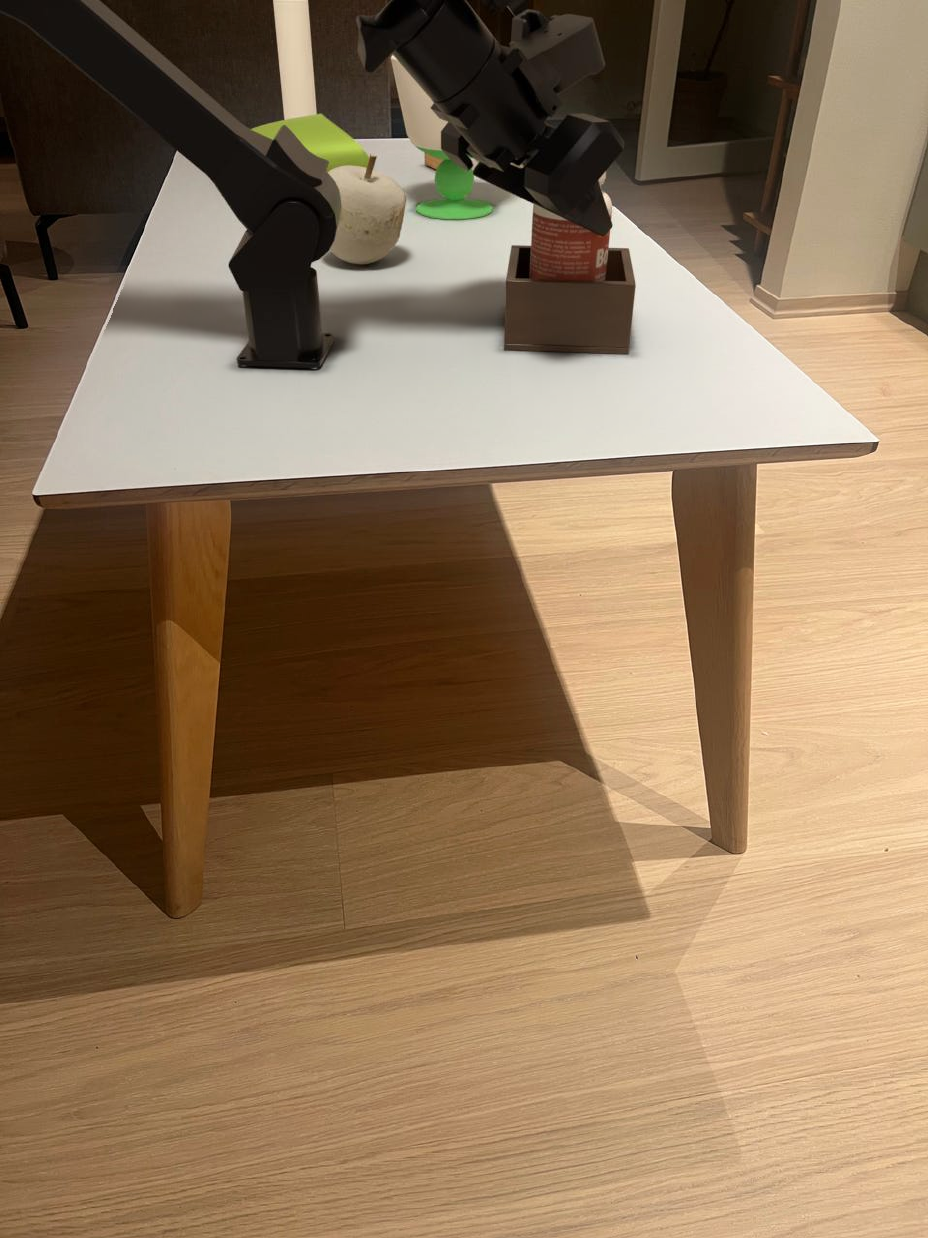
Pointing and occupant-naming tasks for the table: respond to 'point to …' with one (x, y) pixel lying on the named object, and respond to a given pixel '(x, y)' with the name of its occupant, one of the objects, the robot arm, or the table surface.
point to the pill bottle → (567, 247)
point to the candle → (295, 57)
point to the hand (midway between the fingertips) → (586, 221)
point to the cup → (435, 153)
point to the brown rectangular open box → (569, 308)
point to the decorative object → (367, 213)
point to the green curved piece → (321, 140)
